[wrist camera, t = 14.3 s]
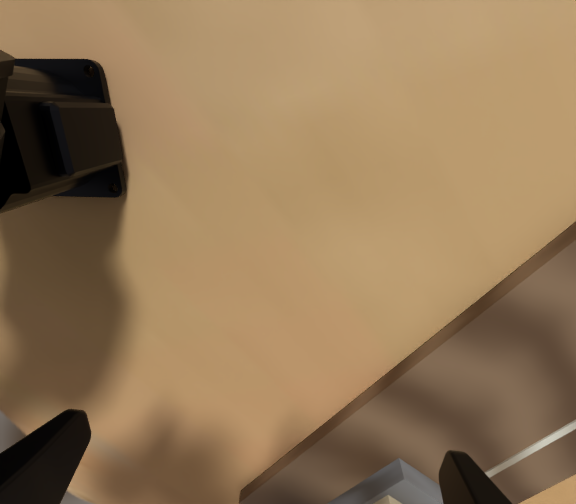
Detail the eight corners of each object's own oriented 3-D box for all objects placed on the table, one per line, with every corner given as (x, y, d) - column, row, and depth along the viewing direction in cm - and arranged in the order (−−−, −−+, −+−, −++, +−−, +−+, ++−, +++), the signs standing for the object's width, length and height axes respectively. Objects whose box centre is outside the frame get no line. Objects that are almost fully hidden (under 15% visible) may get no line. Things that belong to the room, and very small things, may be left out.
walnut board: (375, 562, 32) (378, 577, 31) (241, 490, 28) (238, 504, 27) (772, 349, 20) (797, 362, 19) (621, 185, 17) (641, 190, 16)
